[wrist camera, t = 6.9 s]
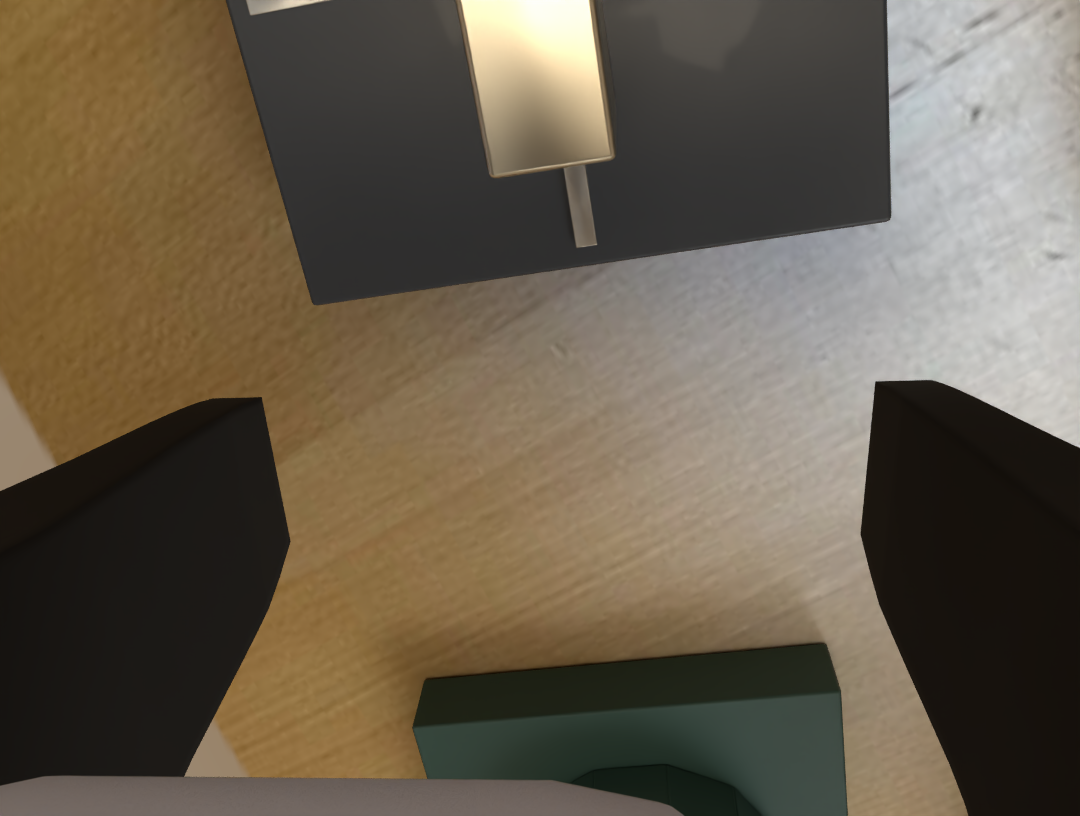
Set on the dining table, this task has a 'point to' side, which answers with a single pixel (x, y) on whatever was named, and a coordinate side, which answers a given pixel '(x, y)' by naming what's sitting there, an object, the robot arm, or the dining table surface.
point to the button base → (653, 730)
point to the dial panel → (574, 192)
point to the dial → (540, 83)
